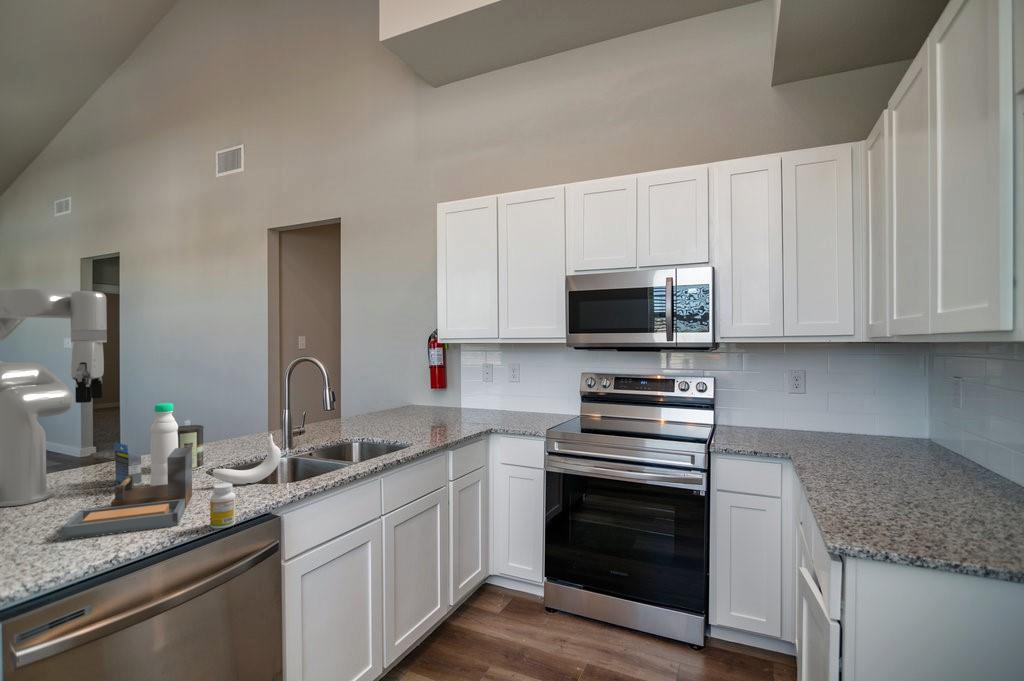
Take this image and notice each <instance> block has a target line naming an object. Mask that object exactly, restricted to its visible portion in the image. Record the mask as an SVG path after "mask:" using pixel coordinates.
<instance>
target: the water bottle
mask: <svg viewBox="0 0 1024 681" xmlns="http://www.w3.org/2000/svg"><path fill="white" fill-rule="evenodd" d="M154 412H155V415H156V416H155V418H154V419H153V422H152V424H151V426H150V428H149V430H150V434H151V435H150V450H149V451H150V462H151V463H150V486H156V485H165V484H168V466H167V458H168V456H169V455H170V454H171V453H172V452H173V450H174V449H175V448H178V433H177V430H178V426H179V425H178V423H177V421H176V419H175V417H174V416H173V412H174V404H173V403H171V402H163V403H156V404H155V406H154Z"/></svg>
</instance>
